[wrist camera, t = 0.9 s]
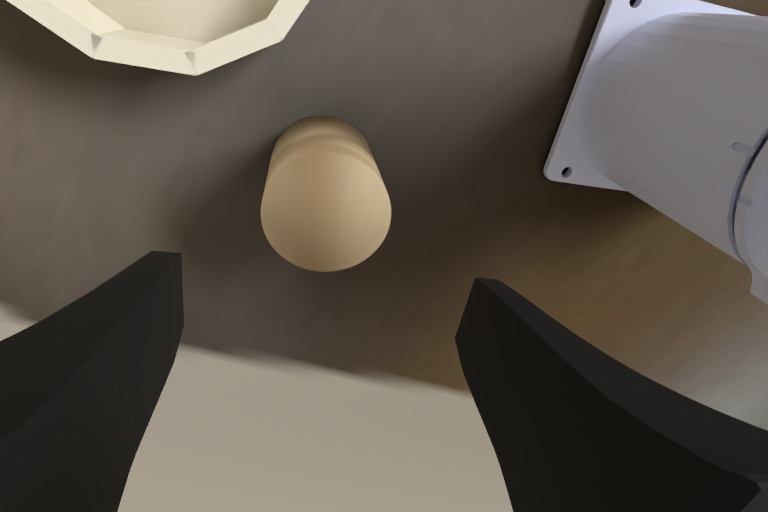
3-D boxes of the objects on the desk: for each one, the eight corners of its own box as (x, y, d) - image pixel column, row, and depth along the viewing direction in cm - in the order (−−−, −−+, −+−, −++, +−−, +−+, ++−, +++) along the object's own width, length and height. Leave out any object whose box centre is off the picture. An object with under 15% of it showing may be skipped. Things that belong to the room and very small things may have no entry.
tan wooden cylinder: (381, 124, 19) (403, 163, 15) (364, 218, 21) (378, 276, 17) (274, 107, 18) (264, 144, 14) (267, 207, 20) (257, 266, 16)
